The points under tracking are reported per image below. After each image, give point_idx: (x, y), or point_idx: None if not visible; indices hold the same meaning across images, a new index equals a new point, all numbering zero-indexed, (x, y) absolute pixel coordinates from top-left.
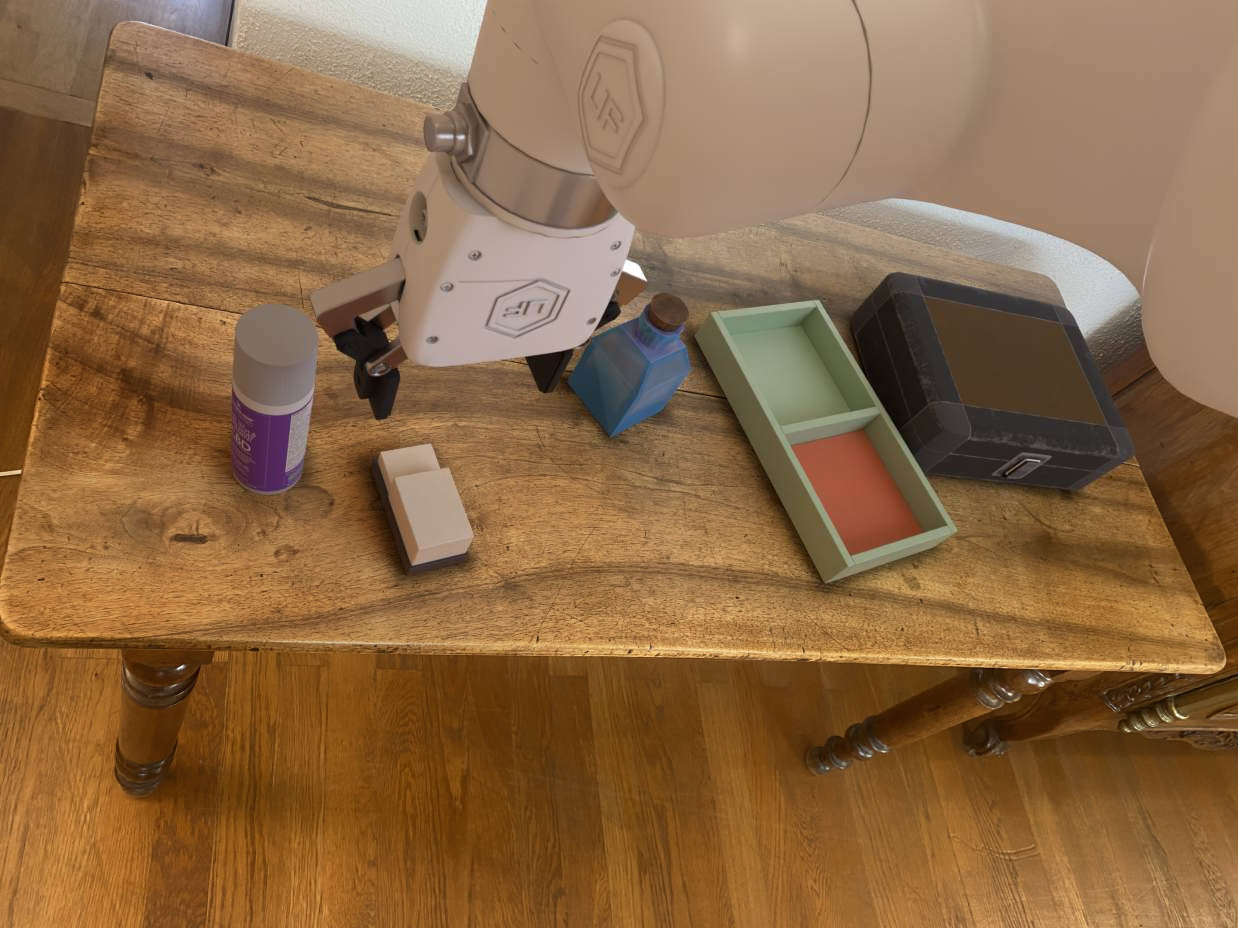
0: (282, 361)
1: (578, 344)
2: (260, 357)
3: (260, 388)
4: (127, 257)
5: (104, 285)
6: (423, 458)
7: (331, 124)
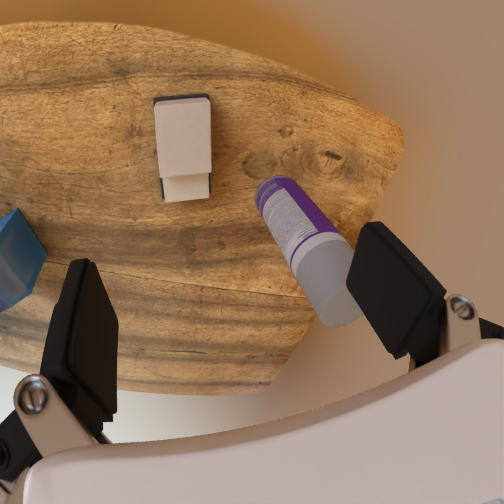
0: None
1: (50, 475)
2: None
3: None
4: (300, 314)
5: None
6: (175, 189)
7: (186, 382)
